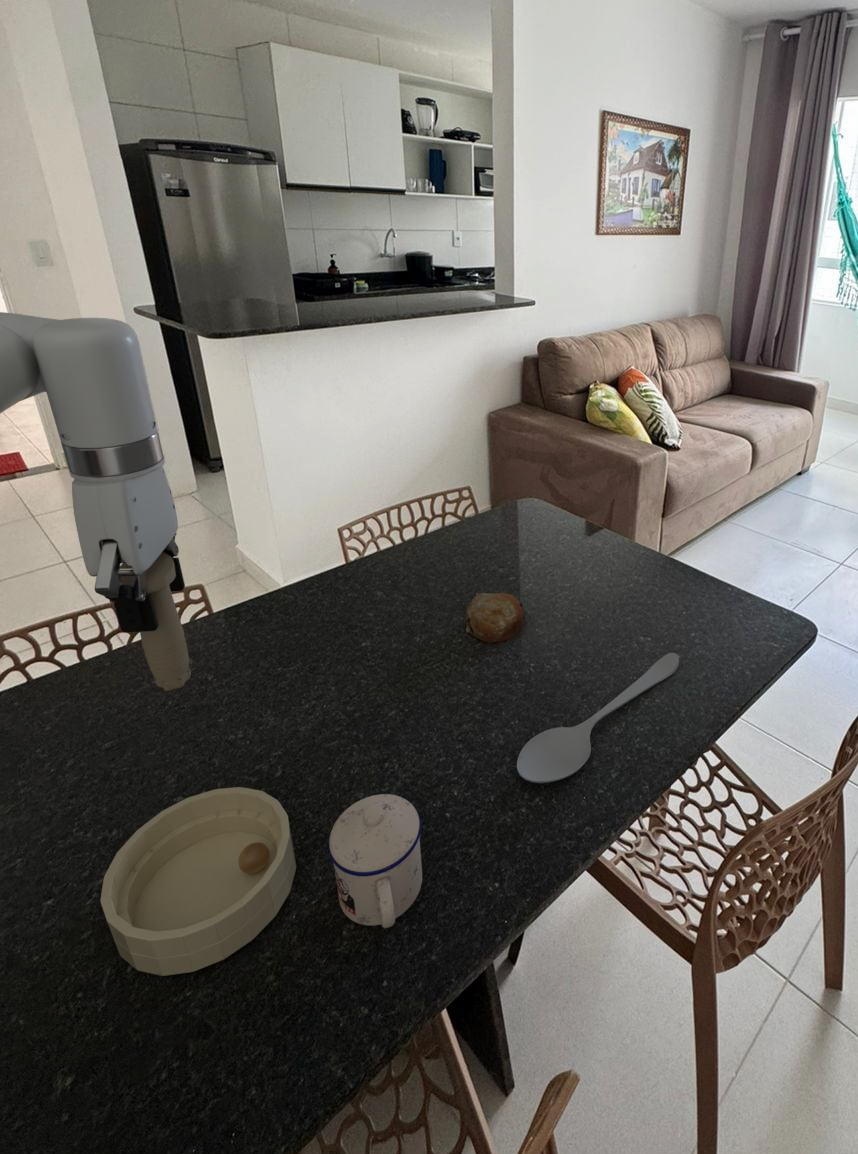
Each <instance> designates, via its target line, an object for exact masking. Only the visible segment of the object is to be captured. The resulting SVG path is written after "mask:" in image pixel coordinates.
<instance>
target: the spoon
mask: <svg viewBox="0 0 858 1154" xmlns="http://www.w3.org/2000/svg"><path fill="white" fill-rule="evenodd" d="M679 664H680V657H679V655H678V653H676V652H669V653H667V654H664V656H662V657H660V658H659V659H658V660H657V661H655V662H654V663H653V664H652V665H651V666H650V667H649V668H648V670H646V671H645V672H644V673H643V674H642V675H641V676H640V677H639V678H638V679H637V680H635V681H634V682H633V683H632V684H631V685H629V686H627V688H626V689H624V690H623V691H622V692H621V693H619V694H618V695H617V696H616V697H615V698H614V699H612V700H610V702H609V703H607V704H606V705H604V706H603V707H602V708H601V709H599V710H598V711H597V712H596V713H594V714H593V715H592V716H590V717H589V718H587V719H586V720H584V721H583V722H581V723H579V724H576V725H574V726H567V727H566V726H562V727H560V726H559V727H553V728H549V729H547V730H544V731H542V732H539V733H538V734H536V735H535V736H533V737H532V738H530V739H529V740H528V741H527V742H526V743H525V744H524V746H523V747H522V749H521V750H520V752H519V754H518V757H517V759H516V769H517V770H516V771H517V773H518V774H519V776H520V777H521V778H522V779H523V780H525V781H527V782H530V783H534V784H546V783H547V784H548V783H554V782H558V781H561V780H564V779H566V778H569V777H570V776H572V775H574V774H575V773H577V772H578V771H579V770H580V769H582V767H583V766H584V765H585V764H586V763H587V762H588V760H589V758H590V756H591V751H592V745H591V732H592V731H593V728H594V727H595V725H596V724H597V723H598V722H600V720H601V719H603V718H605V717H606V716H608V715H610V714H611V713H613V712H614V711H616V710H617V709H619V708H620V707H622V706H624V705H625V704H627V703H629V702H630V701H632V700H633V699H635V698H636V697H637V696H639V695H641V694H643V693H644V692H645V691H648V690H649V689H650V688H652V687H653V686H656V685H657V684H659V683H661V682H662V681H663V680H666V679H667V678H669V677H671V676H672V675H673V674H674V673H675V672H676V671H677V670H678V668H679Z"/></svg>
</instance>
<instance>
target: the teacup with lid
mask: <svg viewBox="0 0 858 1154" xmlns="http://www.w3.org/2000/svg"><path fill="white" fill-rule="evenodd" d="M421 830H422V822H421V818H420V815H419V812H418V811H417V808H415V807H414V805H413V804H412V803H411V802H410V801H409V800H407V799H405V798H404V797H401V796H399V795H395V794H390V793H389V794H388V793H382V794H375V795H370V796H367V797H364V798H362V799H360V800H358V801H356V802H355V803H353V804H352V805H350V806H349V807H348V808H346V809H345V810H344V811H343V812H342V813H341V814H340V815H339V816H338V818H337V820H336V821H335V823H334V824H333V826H332V829H331V831H330V834H329V837H328V845H327V847H328V854H329V857H330V859H331V861H332V863H333V869H334V875H335V881H336V882H335V883H336V887H337V888H336V889H337V895H338V901H339V902H338V903H339V906H340V908H341V910H342V912H343V913H344V915H345V916H346V917H347V918H348V919H349V920H351V921H352V922H355V923H356V924H358V925H363V926H369V927H370V926H372V927H373V926H380V925H381V927H382V928H383V929H389V928H390V927H393V926H394V925H395V923H396V919H397V918H399V917H400V916H402V915H404V913H405V912H407V911H408V910H409V909H410V908H411V906H412V905H413V904H414V902H415V901H416V900H417V898H418V895H419V894H420V891H421V888H422V884H423V866H422V854H421V853H422V852H421V841H420V840H421V839H420V836H421Z"/></svg>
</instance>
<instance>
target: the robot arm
mask: <svg viewBox="0 0 858 1154" xmlns="http://www.w3.org/2000/svg"><path fill="white" fill-rule="evenodd" d="M42 393H46V396H47V399H48V402H49V406H50V409H51V413H52V416H53V420H54V424H55V427H56V430H57V433H58V436H59V441H60V444H61V447H62V451H63V454H64V458H65V461H66V465H67V468H68V473H69V475H70V477H71V478H73V481H72V482H71V490H72V491H71V496H72V497H71V498H72V508H73V515H74V522H75V527H76V532H77V537H78V542H79V545H80V550H81V554H82V559H83V563H84V566H85V569H86V572H87V573H88V575H89V576H90V577H94V578H95V577H96V578H95V583H94V592H95V593H96V594H98V595H100V596H103V597H104V598H105V599H107V600H108V601H109V602H110V604H113V605H114V609H115V614H116V616H117V620H118V624H119V627H120V630H121V632H122V633H125V634H126V633H140V632H144V631H155V630H156V629H157V628H158V626H159V624H158V620H157V616H156V612H155V608H154V604H153V600H152V596H151V595H146V573H145V571H146V570H147V569H148V568H149V567H150V566H151V565H152V564H153V563H154V561H155V560H156V559H157V558H158V556H159V555H160V554H161V553H162V552H164V553H166V554H168V555H169V556H171V557H172V558H173V561H174V565H175V572H176V577H175V579H174V580H173V581H172V582H171V583H170V584H169V586H170V590H171V593H173V592H182V591H183V590H184V589H185V587H186V584H185V579H184V575H183V572H182V571H183V570H182V567H181V566H182V565H181V562H180V558H179V557H178V556H179V552H180V551H179V550H180V549H179V546H178V545H177V542H176V536H177V532H178V527H179V521H178V514H177V509H176V504H175V500H174V497H173V493H172V489H171V486H170V482H169V479H168V477H167V473H166V470H165V466H164V465H165V463H166V458H165V457H166V456H165V453H164V448H163V444H162V439H161V435H160V430H159V427H158V423H157V417H156V414H155V408H154V404H153V403H154V402H153V401H152V400H153V399H152V395H151V389H150V385H149V382H148V377H147V372H146V368H145V363H144V359H143V354H142V349H141V345H140V341H139V337H138V335H137V332H136V331H135V330H134V328H133V327H132V326H130V324H129V323H126V322H124V321H123V320H119V319H115V318H108V317H74V318H65V319H57V318H49V317H42V316H34V315H28V314H22V313H16V312H15V313H13V312H4V311H1V312H0V414H2V413H4V412H5V411H7V410H8V409H10V408H11V407H13V406H15V405H16V404H18V403H19V402H22V401H25V400H28V399H30V398H32V397H35V396H37V395H40V394H42ZM123 563H126V564H127V565H128V566H132V568H129V569H120V566H121V564H123ZM121 576H134V587H131V586H129V585H122V584H121Z"/></svg>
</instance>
